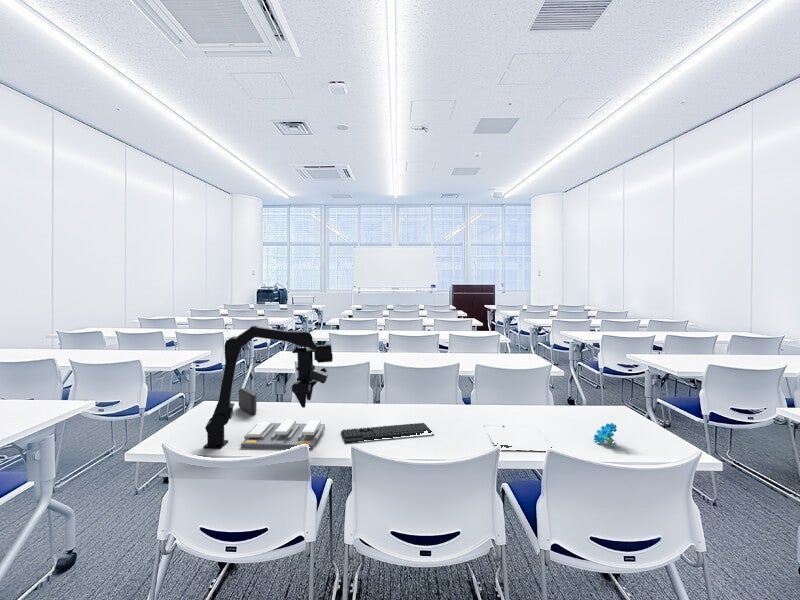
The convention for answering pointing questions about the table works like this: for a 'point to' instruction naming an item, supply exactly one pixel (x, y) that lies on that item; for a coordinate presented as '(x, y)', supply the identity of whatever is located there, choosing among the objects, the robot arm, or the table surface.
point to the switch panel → (282, 437)
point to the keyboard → (383, 432)
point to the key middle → (285, 427)
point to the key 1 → (259, 429)
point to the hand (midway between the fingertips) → (306, 403)
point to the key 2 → (311, 427)
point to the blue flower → (605, 433)
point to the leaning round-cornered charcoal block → (248, 400)
